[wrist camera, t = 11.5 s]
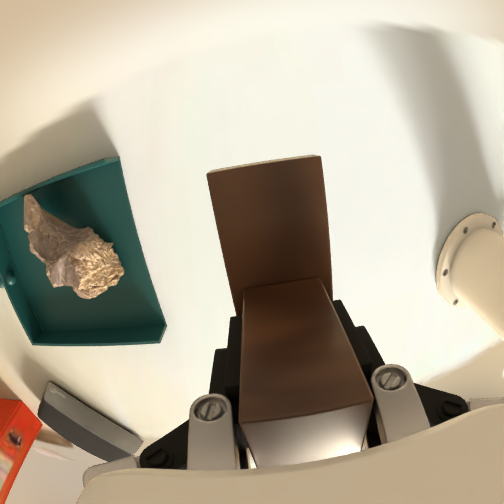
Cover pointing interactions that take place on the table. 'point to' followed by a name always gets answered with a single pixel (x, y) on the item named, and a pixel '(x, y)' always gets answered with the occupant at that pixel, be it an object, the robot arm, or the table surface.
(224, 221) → the brown stepped block
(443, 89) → the table surface
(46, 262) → the rock
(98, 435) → the hard drive
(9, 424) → the file binder
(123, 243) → the dustpan
